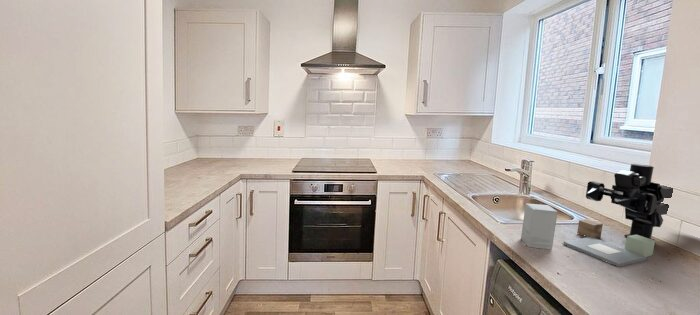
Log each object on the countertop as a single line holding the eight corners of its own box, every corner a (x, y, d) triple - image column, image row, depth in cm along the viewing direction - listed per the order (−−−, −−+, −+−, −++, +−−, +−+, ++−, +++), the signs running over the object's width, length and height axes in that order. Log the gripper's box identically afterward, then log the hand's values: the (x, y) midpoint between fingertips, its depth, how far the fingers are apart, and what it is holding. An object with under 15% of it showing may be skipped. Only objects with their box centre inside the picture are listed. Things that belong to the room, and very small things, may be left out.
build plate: (590, 239, 113) (590, 236, 113) (646, 260, 98) (646, 256, 98) (563, 244, 108) (563, 241, 107) (618, 267, 93) (618, 263, 93)
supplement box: (552, 250, 102) (558, 211, 101) (527, 247, 104) (532, 209, 102) (543, 241, 110) (549, 204, 108) (520, 238, 111) (525, 202, 109)
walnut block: (585, 232, 120) (588, 219, 120) (600, 237, 116) (602, 223, 115) (577, 233, 118) (579, 220, 118) (591, 238, 114) (593, 225, 113)
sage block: (633, 249, 107) (636, 234, 106) (652, 255, 102) (655, 240, 101) (624, 250, 105) (627, 236, 104) (643, 257, 100) (646, 242, 99)
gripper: (605, 166, 116) (576, 167, 111) (672, 177, 99) (642, 180, 94) (600, 196, 118) (571, 199, 112) (664, 212, 101) (635, 217, 95)
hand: (602, 198), depth 103 cm, fingers open, 9 cm apart
